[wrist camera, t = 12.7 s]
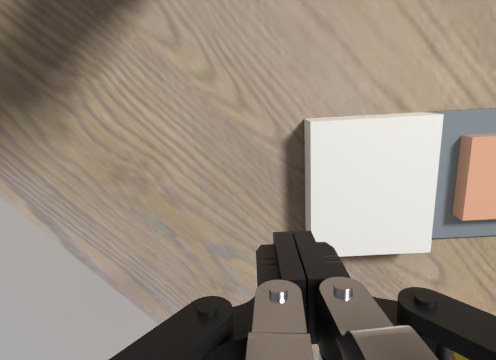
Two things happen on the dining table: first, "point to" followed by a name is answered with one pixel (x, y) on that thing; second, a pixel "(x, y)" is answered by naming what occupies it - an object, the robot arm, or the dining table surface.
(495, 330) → the robot arm
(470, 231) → the slate mat
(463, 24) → the dining table surface
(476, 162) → the terracotta tile
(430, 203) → the white flat block
